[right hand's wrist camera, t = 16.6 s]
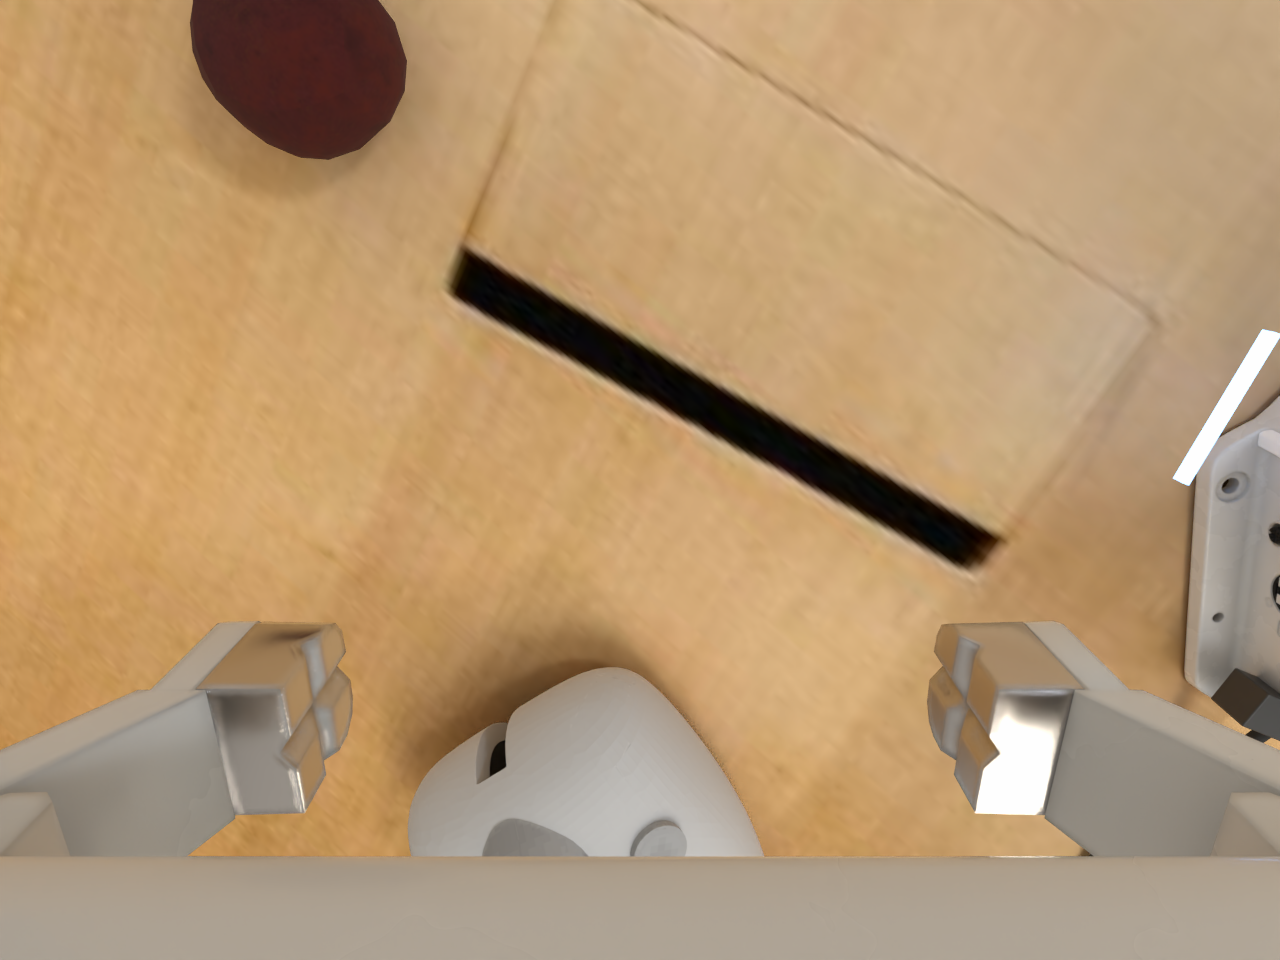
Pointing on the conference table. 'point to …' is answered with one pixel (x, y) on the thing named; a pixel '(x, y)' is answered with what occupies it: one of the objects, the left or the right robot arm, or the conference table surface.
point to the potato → (302, 69)
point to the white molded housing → (583, 781)
